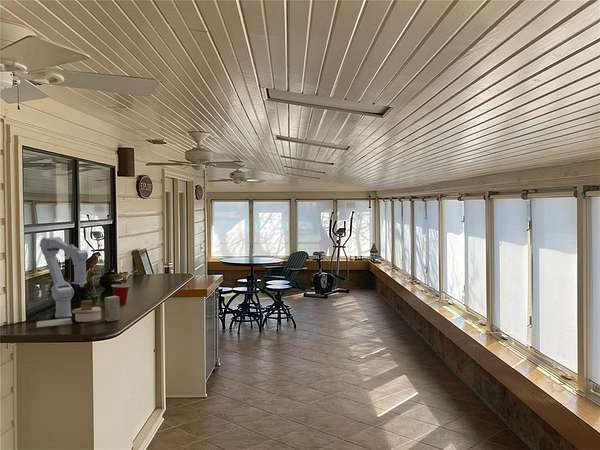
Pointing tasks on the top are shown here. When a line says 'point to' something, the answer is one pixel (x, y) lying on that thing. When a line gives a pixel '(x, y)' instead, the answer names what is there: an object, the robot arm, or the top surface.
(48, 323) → the mat
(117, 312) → the skincare box
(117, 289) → the plastic cup
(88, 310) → the lid
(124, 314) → the top surface
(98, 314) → the bowl
